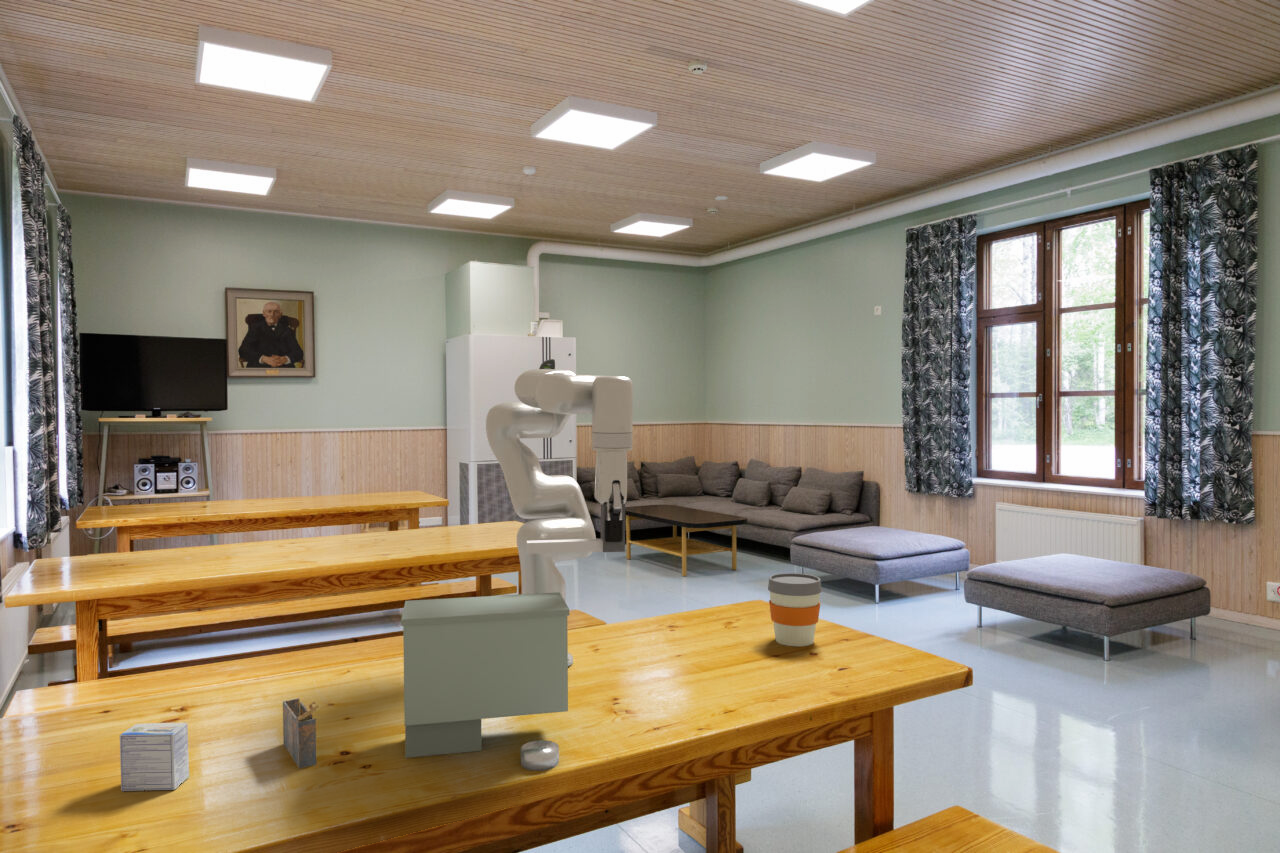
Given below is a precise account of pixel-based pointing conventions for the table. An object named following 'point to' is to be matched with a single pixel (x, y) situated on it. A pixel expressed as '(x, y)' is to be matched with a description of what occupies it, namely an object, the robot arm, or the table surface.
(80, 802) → the table surface
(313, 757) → the weathered grey open box
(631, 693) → the table surface
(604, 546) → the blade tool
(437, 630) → the cabinet
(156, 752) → the medicine box
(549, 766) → the steel token
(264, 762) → the table surface
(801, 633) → the reusable coffee cup
